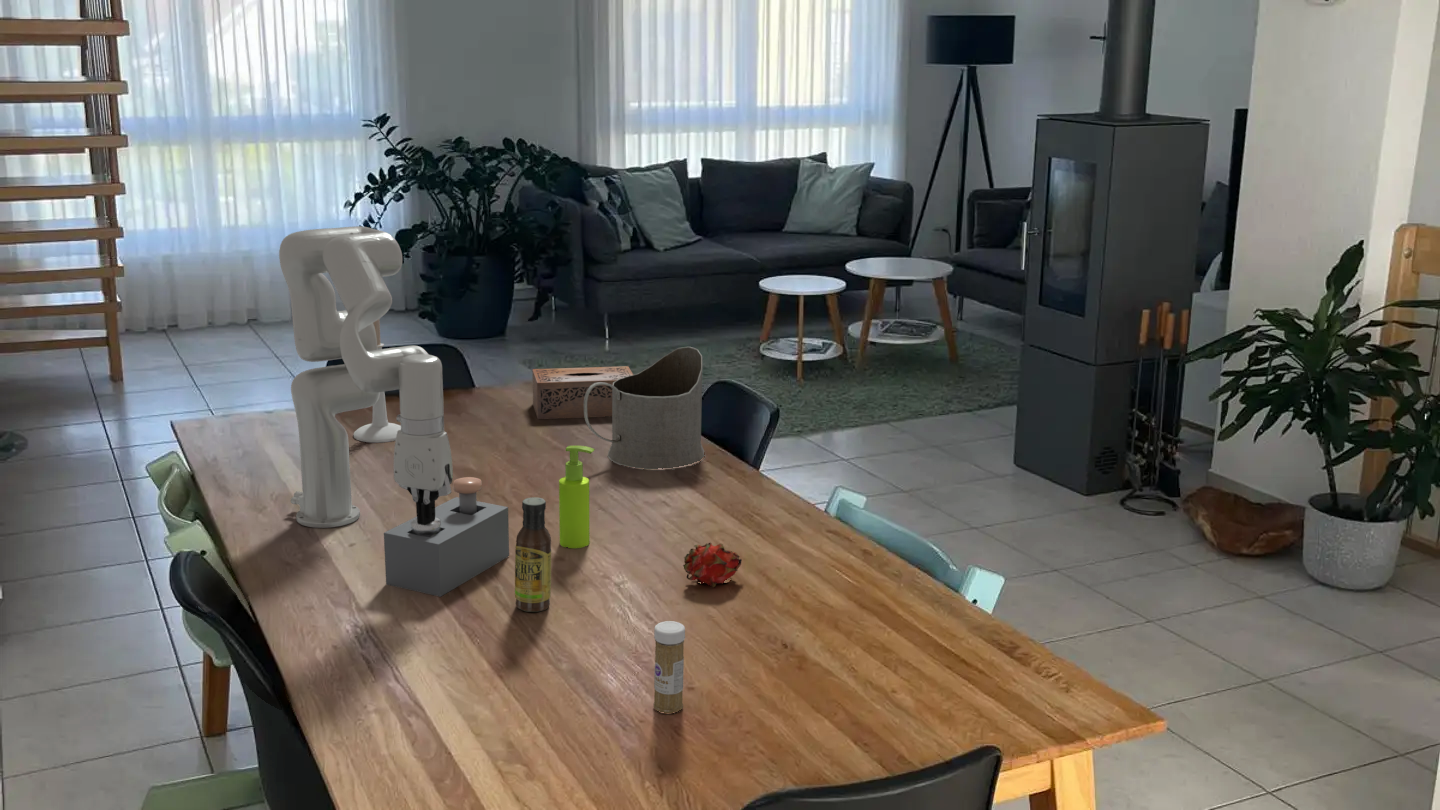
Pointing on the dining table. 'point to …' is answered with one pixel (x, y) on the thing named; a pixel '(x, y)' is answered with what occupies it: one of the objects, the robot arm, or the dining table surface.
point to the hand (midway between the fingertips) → (426, 521)
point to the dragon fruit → (711, 564)
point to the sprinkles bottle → (669, 666)
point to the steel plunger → (426, 528)
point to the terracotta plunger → (467, 493)
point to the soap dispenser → (574, 502)
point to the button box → (447, 548)
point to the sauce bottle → (533, 558)
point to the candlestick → (378, 415)
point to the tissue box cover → (574, 391)
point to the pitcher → (657, 413)
